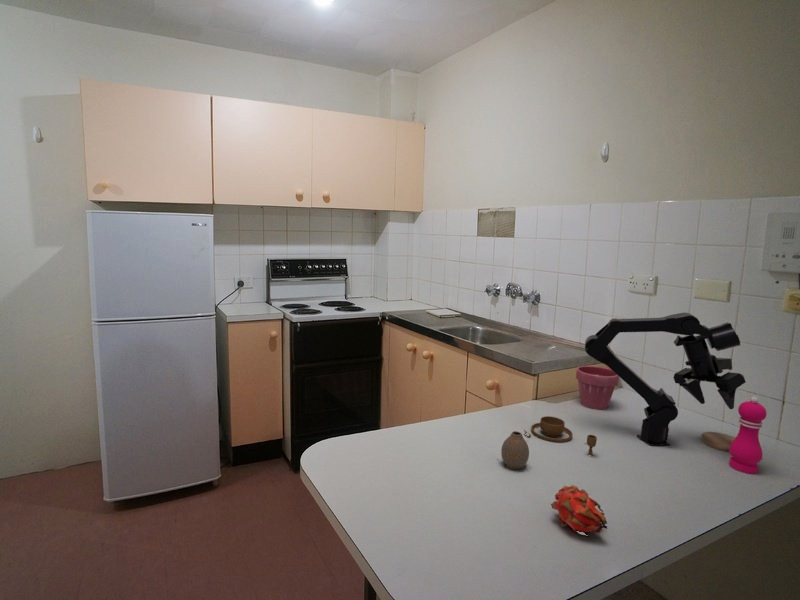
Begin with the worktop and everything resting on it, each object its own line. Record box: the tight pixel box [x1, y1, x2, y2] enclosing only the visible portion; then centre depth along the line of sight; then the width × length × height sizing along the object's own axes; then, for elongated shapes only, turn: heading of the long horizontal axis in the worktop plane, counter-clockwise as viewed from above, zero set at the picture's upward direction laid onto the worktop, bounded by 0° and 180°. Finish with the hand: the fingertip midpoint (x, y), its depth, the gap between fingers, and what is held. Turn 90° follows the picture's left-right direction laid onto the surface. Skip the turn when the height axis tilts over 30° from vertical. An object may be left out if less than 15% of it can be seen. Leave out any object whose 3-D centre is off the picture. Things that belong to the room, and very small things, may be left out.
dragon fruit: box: [550, 484, 608, 536], centre depth 95 cm, size 8×8×12 cm
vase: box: [500, 430, 530, 470], centre depth 120 cm, size 7×7×9 cm
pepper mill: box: [728, 396, 767, 475], centre depth 125 cm, size 7×7×20 cm
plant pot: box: [575, 365, 620, 410], centre depth 169 cm, size 14×14×13 cm
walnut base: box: [700, 431, 736, 453], centre depth 141 cm, size 11×11×2 cm
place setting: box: [523, 415, 598, 456], centre depth 137 cm, size 18×20×6 cm
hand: (717, 406), depth 134 cm, fingers open, 9 cm apart
